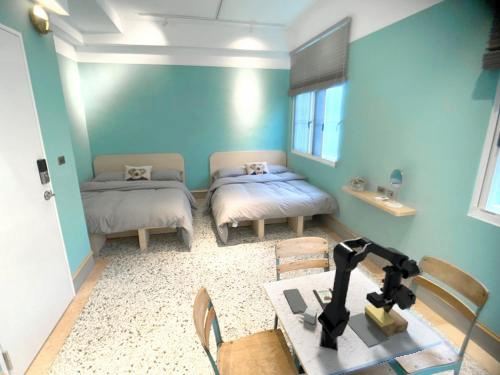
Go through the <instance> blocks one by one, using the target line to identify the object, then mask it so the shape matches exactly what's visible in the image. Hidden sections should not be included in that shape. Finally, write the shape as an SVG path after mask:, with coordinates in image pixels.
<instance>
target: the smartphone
mask: <svg viewBox="0 0 500 375" xmlns="http://www.w3.org/2000/svg"><path fill="white" fill-rule="evenodd" d="M283 294H284V296H285V299H286V301H287V303H288V304H289V305H288V306H289V308H290V310H291V312H292V313H293V314H300V313H302V314H303V312H302V310H304V311H306V309H307V308H309V307H308V305H307V303H306V301H305V300H304V297H303V296H302V295H301V294H302V293H300V290H299V288H290V289H284V290H283ZM300 310H301V311H300Z"/></svg>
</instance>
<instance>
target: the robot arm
mask: <svg viewBox="0 0 500 375" xmlns="http://www.w3.org/2000/svg"><path fill="white" fill-rule="evenodd" d="M358 248H361V249H362V250H361V251H359V252H358V251H357V250H356V249H358ZM370 253H371V254H373V255H375V256H378V257H379V258H382V259H384V260H385V261H386V262H388V263H389V265H388V264H387V265H385V266H383V267H382V268H381V270H382V271H384V273H385V274H384V278H382V279H381V283H383V285H382V287H379V290H380V292H382V293H377V292H376V291H372V292H369V293H366V295H365V296H366V297H365V299H366V300H367V301H368V302H369V303H370V305H373V306H374V307H376V308H378V309H379V308H382V307H383V308H384V310H385V311H386V312H387V313H389V312H390V310H391V309H393V307H394V306H395V305H397V306H398V308H399V309H400V310H402V311H405V310H408V309H410V308H411V307H412V306H413V305H416V301H417V295H416V294H415V293H414V292H413V290H412V289H410V288H408V287H407V286H406V285H405V284H403V283H402V279H403V280H408V279H411V278H416V277H418V276H420V275H421V270H420V268H419V266H418V265H417V263H418V262H417V261H416V260H414V259H410V256H408V255H407V254H405V253H403V252H401V251H399V250H398V249H396V248H394V247H389V246H388V247H385V246H383V245H381V244H380V243H376V242H375V241H374V240H371V239H370V238H367V237H366V236H360V237H357V238H354V239H352V238H351V239H345V240H344V241H341V242H339V243H337V244H336V245H335V246H334V247H333V250H332V258H333V262H334V266H335V273H334V278H333V286H332V298H331V302H329V303H328V304H327V305H326V307H325V310H323V311H322V312H321V313H320V314H319V316H318V315H317V319H316V320H317V321H318V323H319V324H320V325H321V331H320V332H319V346H320V347H323V348H327V349H330V350H335V351H338V349H339V347H338V346H339V342H338V341H339V340H338V337H341V336H343V334H344V333H345V330H346V329H347V326H348V324H347V323H348V321H349V317H350V316H351V311H350V309H348V307H347V306H346V303H347V297H348V291H349V287H350V286H349V285H350V280H351V275H352V272H353V271H354V270H355V269H356V268H357V267H358V264H359V263H361V262H363V261H365V260H366V257H367V256H368V254H370Z"/></svg>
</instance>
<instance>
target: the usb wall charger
mask: <svg viewBox="0 0 500 375" xmlns="http://www.w3.org/2000/svg"><path fill="white" fill-rule="evenodd" d="M300 311H301V310H300ZM299 315H301V316H303V321H305V322H307V323H310V324H313V325H315V323H316V321H317V320H318V319H317V318H318V311H317V310H314V309H312V308H309V307H308V308H307V309H306V311H304V310H302V313H299Z"/></svg>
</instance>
